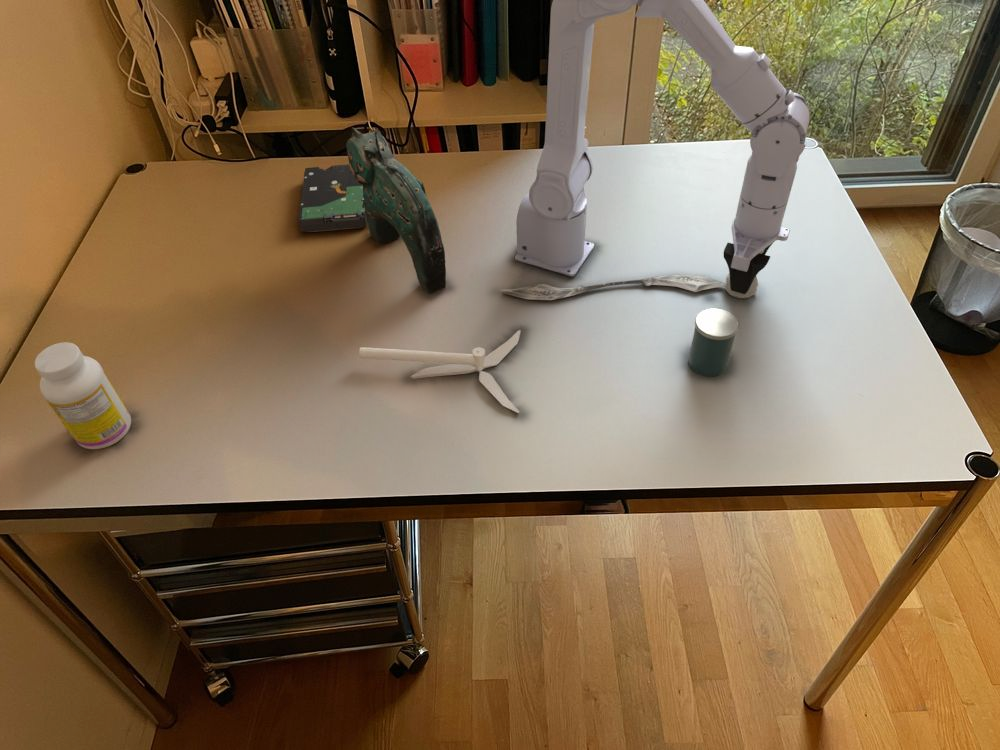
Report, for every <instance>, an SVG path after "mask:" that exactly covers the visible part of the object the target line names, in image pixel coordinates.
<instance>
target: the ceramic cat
mask: <svg viewBox="0 0 1000 750" xmlns="http://www.w3.org/2000/svg"><path fill="white" fill-rule="evenodd" d="M345 147H346V153H347V159H348V165H349V167H350V170H351V172H352V174H353V176H354V178H356V179H357V180H358V182H359V183H360V184H362V185H363V195H364V203H365V214H366V218H367V226H368V231H369V235H370V237H371V238H372V239H373V240H374V241H375V242H376V243H377V244H379V245H384V244H388V243H390V242H392V241H394V240H397V239H400V238H401V239H402V241H403V242H404V246H405V247H406V249H407V251H408V253H409V255H410V257H411V260H412V265H413V267H414V271H415V275H416V278H417V281H418V283H419V286H420V288H421V289H422V291H423V292H424V293H426V294H427V295H433V294H435V293H436V292H439V291H441V290H443V289H446V285H447V282H446V277H447V269H446V267H447V266H446V252H445V245H444V242H443V239H442V235H441V230H440V226H439V223H438V220H437V217H436V215H435V213H434V210H433V208H432V205H431V203H430V201H429V199H428V197H427V193H426V188H425V186H424V183H423V182H422V181H421V180H420V179H418V178H417V177H415V176H414V175H413V173H412V172H411V171H410V170H409V168H407V166H405V165H404V164H403V163H401V162H399V161H398V160H397V159H396V157H395V156H394V154H393V152H392V150H391V147H390V146H389V143H388V142H387V140H386V138H385V137H384V136H383V134H382V132H381V130H379V129H374V131H371V132H367V133H362V132H361V131H359V130H357V129H356V128H355V127H351V137H350V138H349V139H348V140H347V141H346V144H345Z"/></svg>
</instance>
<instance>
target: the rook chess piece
mask: <svg viewBox="0 0 1000 750" xmlns="http://www.w3.org/2000/svg"><path fill="white" fill-rule="evenodd" d="M763 252H764V250H763V251H761V252H760V254H762V253H763ZM757 276H758V275H756V276H755V278H754V280H753V282H752V284H751V286H750V288H749V290H748V292H747V293H746V294H742V293H738V292H734V291H731V288H730V274H729V273H728V274H727V275H726V277H725V281H724V282H723V283H724V287H723V288H724V290H725V291H726V292H727V294H729V295H730V296H731V297H734V298H737V299H748V298H750V297H752V296H754V295H755V294H756V293H757V291H758V286H759V281H758V277H757Z"/></svg>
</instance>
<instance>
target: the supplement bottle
mask: <svg viewBox="0 0 1000 750" xmlns="http://www.w3.org/2000/svg"><path fill="white" fill-rule="evenodd" d="M34 367H35V369H36V371H37V373H38V374H39V376H40V380H39V390H40V393H41V395H42V396H43V398H44V399H45V400H46V402H47V403H48V405H49V406H50V407H51V409H52V410H53V412H54V413H55V414H56V416H57V417H58V419H59V420H60V421H61V423H62V424H63V426H64V427H65V428H66V430H67V431H68V433H69V435H70V436H71V437H72V438H73V440H74V441H75V442H76V444H77V445H79V446H80V447H82V448H84V449H88V450H100V449H104V448H108V447H110V446H113V445H115V444H117V443H118V442H120V441H121V440H122V439H123V438H124V437H125V436H126V435H127V434H128V432H129V430H130V428H131V425H132V416H131V414H130V412H129V411H128V408H127V407H126V405H125V403H124V402H123V399H121V396H120V395H119V394H118V391H116V388H115V387H114V385H113V384H112V382H111V381H110V379H109V378H108V376H107V374H106V372H105V371H104V369H103V367H102V366H101V364H100V363H99V361H97V360H96V359H94V358H92V357H91V356H87V355H84V354H83V352H82V351H81V350H80V348H79V347H78V346H77V345H76V344H75V343H72V342H65V341H63V342H58V343H55V344H52V345H50V346H47V347H46V348H44V349H43V350H42V351H40V352H39V353H38V355H37V356H36V357H35V359H34Z"/></svg>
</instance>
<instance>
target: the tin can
mask: <svg viewBox="0 0 1000 750" xmlns="http://www.w3.org/2000/svg"><path fill="white" fill-rule="evenodd" d="M738 328H739V321H738V319H737V317H736V316H735V315H734V314H732V313H731V312H730V311H728V310H725V309H722V308H715V307H714V308H713V307H712V308H706V309H703V310H702V311H700V312H698V314H697V315H696V317H695V322H694V330H693V336H692V339H691V346H690V351H689V355H688V365H689V367H690V368H691V369H692V370H693V371H694V372H695V373H697V374H699V375H700V376H705V377H717V376H719V375H721V374H723V373H724V372H725V371H726V370H727V368H728V364H729V361H730V357H731V353H732V350H733V346H734V345H733V344H734V341H735V337H736V333H738V332H737V331H738Z"/></svg>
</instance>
